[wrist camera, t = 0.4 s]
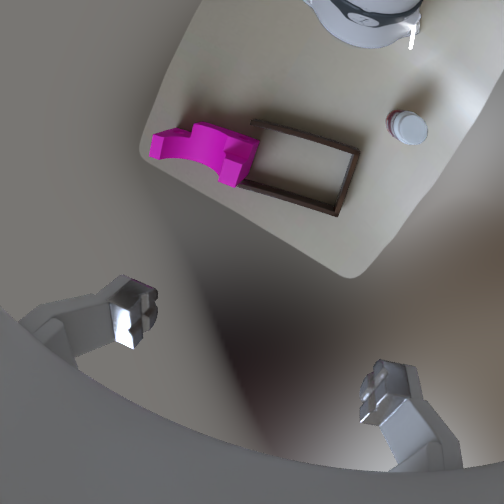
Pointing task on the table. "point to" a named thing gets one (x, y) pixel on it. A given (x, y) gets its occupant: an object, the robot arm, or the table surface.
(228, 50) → the table surface
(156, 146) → the toy block
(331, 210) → the bay
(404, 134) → the pill bottle
